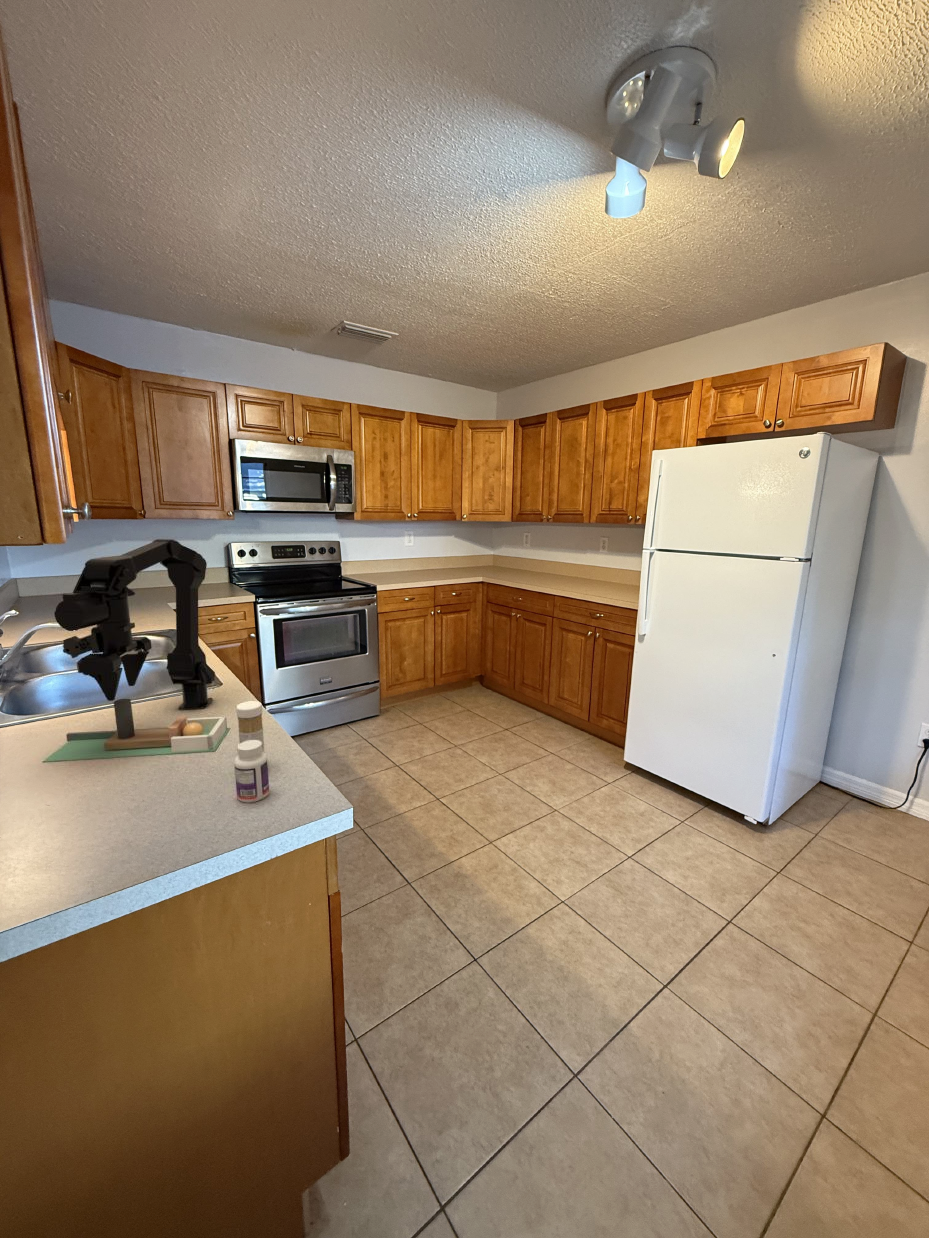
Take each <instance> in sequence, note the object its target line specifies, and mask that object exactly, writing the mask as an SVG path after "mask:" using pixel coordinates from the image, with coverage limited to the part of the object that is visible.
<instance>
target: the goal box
mask: <svg viewBox="0 0 929 1238" xmlns="http://www.w3.org/2000/svg"><path fill="white" fill-rule="evenodd" d="M193 722H195V723H199V724H200V725H201V726H202V727H203V732H205V731H211V732H210V733H209V735H196V736H178V737H172V738H171V747H172V752H184V751H200V750H213V749H214V748H215V746H216V745H217V743H218V742H219V740H220V739H221V737H222V736H223V734H224V732H225V731H226V729H227V728H228V725H227V724H228V723H227V722H228V721H227V716H209V717H189V718H187V719H186V723H187V724H189V723H193Z"/></svg>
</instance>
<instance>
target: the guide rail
mask: <svg viewBox="0 0 929 1238" xmlns="http://www.w3.org/2000/svg"><path fill="white" fill-rule="evenodd" d="M169 727H170V726H169ZM169 727H155V728H153V727H152V728H151V727H150V728H136V729H135V728H134V730H153V729H168V728H169ZM116 732H117V729H116V730H115V729H113V730H97V731H96V730H95V731H82V732H81V731H80V732H67V733H66V734H65V735H66V736H65V737H66V741H67V742H69V741H74V740H92V739H109V738H111V737H112V736H113V735H114V734H115V733H116Z"/></svg>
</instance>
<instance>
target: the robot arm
mask: <svg viewBox="0 0 929 1238" xmlns="http://www.w3.org/2000/svg"><path fill="white" fill-rule="evenodd" d="M157 564H160V565H162V566H163V568H166V569H167V576H168V579H169V580H170V582H171V583H172V585H173V587H174V588H175V635H176V636H175V639H176V641H175V643H176V644H175V647H174V648H173V650H172V652H168V653H167V655H166V662H167V663H166V670H167V673H168V676H169V677H170V680H171V682H172V684H173V685H181V692H182V693H181V694H182V703H181V704H180V705H179V706H178V710H191V709H195V710H196V709H206V708H207V707H208V706H209V705H210V703H211V702H212V701H213V697H209V696H208V686H207V685H210V684H213V681H215V677H216V672H215V670H213V668H211V667H210V666H209V665H208V664H207V657H206V654H205V652H204V651H203V649H202V648H201V646H200V643H199V588H200V587H201V585H202V583H203V582H204V580H205V579H206V572H207V571H206V570H207V566H208V565H207V564H208V563H207V561H206V559H205V558H204V557H203V555H201V553H198V552H197V551H196V550H193V549H191V548H189V547H188V546H184V545H183V544H181V542H179V541H178V540H175V539H173V538H172V539H171V538H169V539H168V538H167V539H166V538H157V539H154V540H153V541H151V542H150V543H148V544H144V545H143V546H140V547H138V548H135V549H132V550H130V551H128V552H125V553H122V554H120V555H113V556H102V557H95V558H90V559H89V560H87V561H86V562H85V563H84V567H83V569H82V571H81V574H80V575H79V578H78V580H77V582H76V584H75V587H74V589H73V591H72V593H64V594H62V601H60V602H59V603H58V604H57V605H56V608H55V611H54V618H55V621H56V623H57V624H58V625H59V626H60V627H61V628H62V629H64V630H66V631H68V632H69V631H70V632H73V631H78V630H81V629H86V628H89V627H92V628H91V630H90V634H88V635H84V636H81V637H78V636H77V635H73V636H71V637H68V638H65V639H63V640H62V641H63V642H62V643H63V644H62V647H63V649H62V652H63V653H64V654H67V655H68V656H70V657H71V659H75V658H77V657H79V656H80V655H84V654H85V653H89V652H92V653H90V654H87V655H85V656H83V657H81V658H80V659H79V660H78V661H77V662H76V669H77V670H76V671H77V673H79V674H83V675H84V676H89V677H91V678H92V679H94V680H95V681H96V683H97V684H98V686H99V688H100V689H101V692H102V693H103V695H104V696H105V698H106V700H107V701H109V702H111V701H112V702H114V701H116V700H115V699H116V695H117V692H118V689H119V684H120V679H121V676H122V673H123V671H124V674H125V678H126V682H127V685H128V686H129V687H134V686H135V685H136V683H137V680H138V679H139V676H140V673H141V670H142V668H143V666H144V663H145V662H146V659H147V657H148V655H149V654H150V650H151V649H152V640H151V639H150V638H149V637H147V636H132V635H133V633H132V629H134V628H136V625H135V622H131V615H130V609H129V597H133V596H135V595H136V593H135V591H134V590H132V589H130V588H129V587H128V586H129V585H130V584H131V583H133V582H134V581H135V580H136V579H137V577H138V574H139V573H140V572H143V571H145V570H146V569H148V568H150V567H153V566H155V565H157ZM121 666H123V667H121Z"/></svg>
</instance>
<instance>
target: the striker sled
mask: <svg viewBox="0 0 929 1238" xmlns="http://www.w3.org/2000/svg"><path fill="white" fill-rule="evenodd" d="M113 708H114V715H115V716H114V717H115V724H116V730H117V732H116V733H115V734H114V735H113V736H112V737H111V738H109V739H108V740H107V741H106V742H105V743H104V748H105V750H113V749H130V748H146V747H162V746H171V738H172V737H178V736H183V729H184V727H185V726H186V725H187V724H188V723H187V717H186V716H185V717H184V716H182V717H181V716H180V717H178V718H177V719H176V720H175V721H174V722H173V723H172V724H171V725H170V726H169V728H168V727H167V728H168V729H153V730H134V729H135V723H134V716H133V709H132V708H133V707H132V700H131V698H120V699H117V700H113Z"/></svg>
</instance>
